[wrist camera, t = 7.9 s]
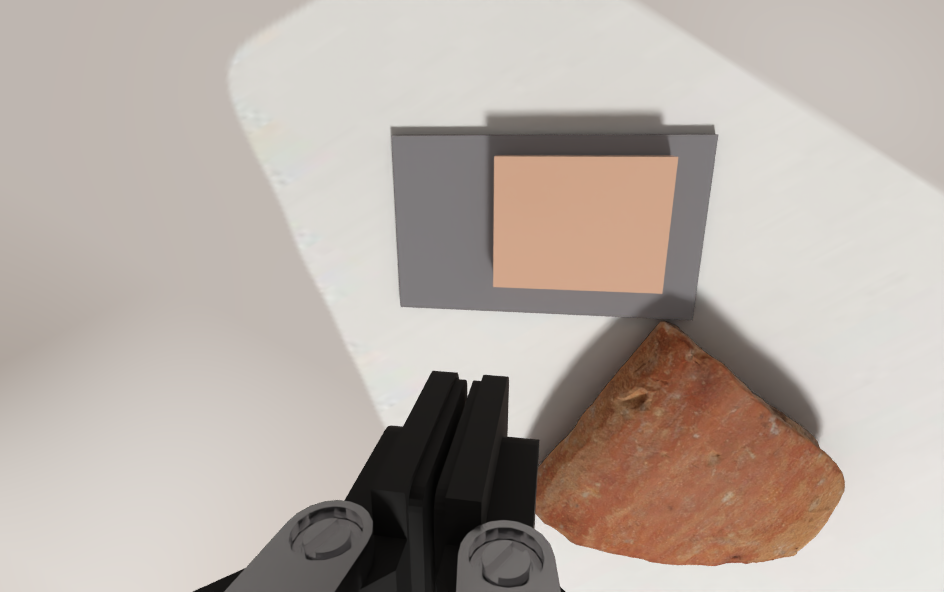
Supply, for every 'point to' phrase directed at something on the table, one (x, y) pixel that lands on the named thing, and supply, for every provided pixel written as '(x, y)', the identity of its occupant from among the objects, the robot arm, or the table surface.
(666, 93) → the table surface
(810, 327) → the table surface
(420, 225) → the mat
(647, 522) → the ceramic shard
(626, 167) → the tile
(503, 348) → the table surface
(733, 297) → the table surface
